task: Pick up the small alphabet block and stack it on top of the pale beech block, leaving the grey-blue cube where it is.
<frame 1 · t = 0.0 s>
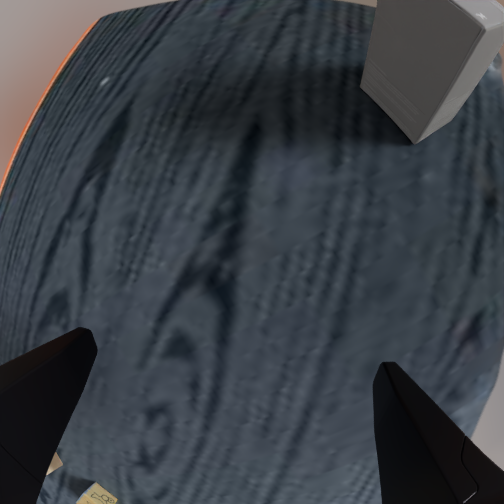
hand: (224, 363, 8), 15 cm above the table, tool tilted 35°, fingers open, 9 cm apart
alphabet block: (103, 494, 22), on the table
skincare box: (401, 104, 25), on the table
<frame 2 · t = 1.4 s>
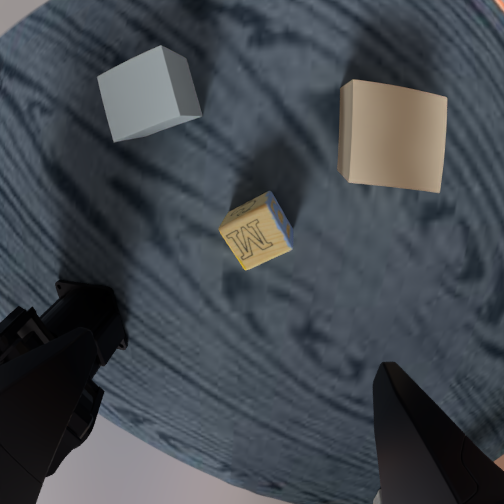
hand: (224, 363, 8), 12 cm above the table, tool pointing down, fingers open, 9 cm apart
alphabet block: (261, 220, 19), on the table
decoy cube: (165, 97, 17), on the table
beech block: (379, 133, 16), on the table
skincare box: (398, 487, 35), on the table
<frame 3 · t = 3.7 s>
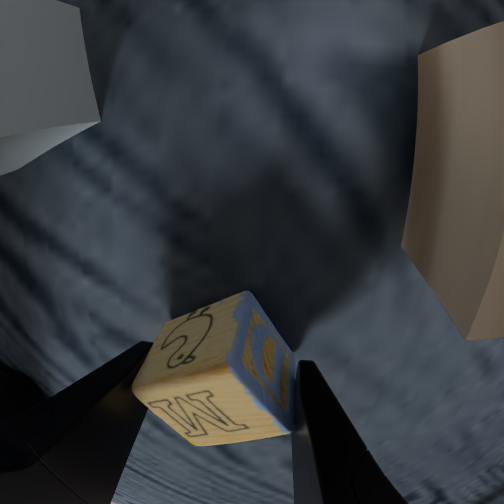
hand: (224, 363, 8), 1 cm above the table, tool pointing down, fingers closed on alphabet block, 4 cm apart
alphabet block: (232, 336, 9), on the table, touching gripper
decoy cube: (43, 90, 7), on the table
beech block: (487, 166, 6), on the table
when the fingers open (5 cm above the table, at t = 6.7 s): alphabet block stays where it is, resting on beech block.
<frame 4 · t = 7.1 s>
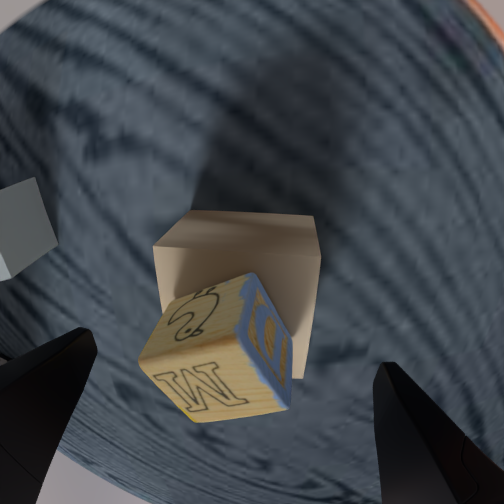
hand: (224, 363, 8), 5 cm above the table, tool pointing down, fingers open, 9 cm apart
alphabet block: (233, 317, 10), point 4 cm above the table, touching beech block
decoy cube: (27, 219, 14), on the table
beech block: (250, 266, 13), on the table, touching alphabet block
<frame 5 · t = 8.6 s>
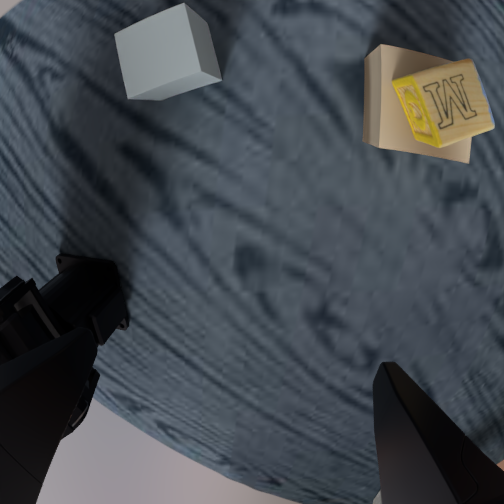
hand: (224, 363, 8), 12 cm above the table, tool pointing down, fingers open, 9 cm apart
alphabet block: (428, 102, 11), point 4 cm above the table, touching beech block
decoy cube: (183, 61, 15), on the table
beech block: (403, 105, 14), on the table, touching alphabet block
skincare box: (400, 488, 34), on the table
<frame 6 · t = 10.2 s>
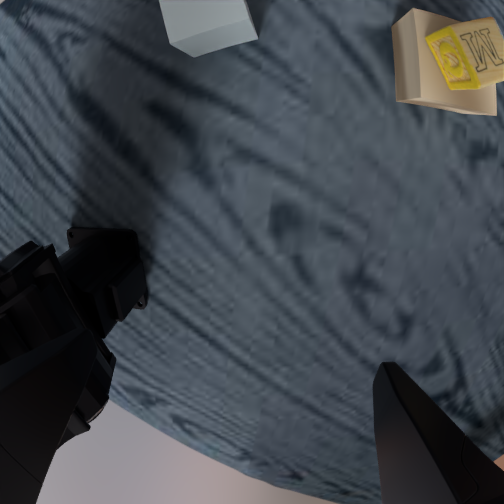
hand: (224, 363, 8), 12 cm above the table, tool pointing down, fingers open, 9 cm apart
alphabet block: (455, 58, 10), point 4 cm above the table, touching beech block
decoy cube: (217, 21, 14), on the table
beech block: (429, 69, 14), on the table, touching alphabet block
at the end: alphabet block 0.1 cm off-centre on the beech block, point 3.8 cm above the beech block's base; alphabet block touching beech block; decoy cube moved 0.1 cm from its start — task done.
